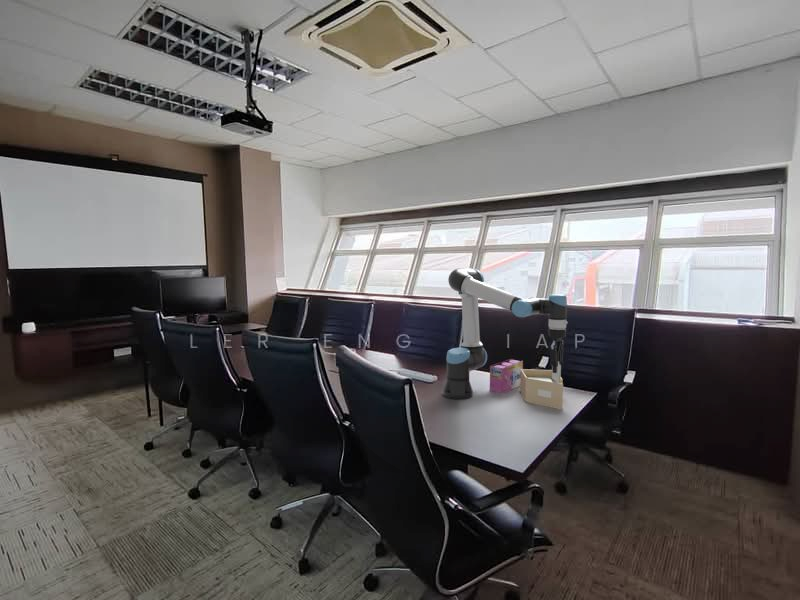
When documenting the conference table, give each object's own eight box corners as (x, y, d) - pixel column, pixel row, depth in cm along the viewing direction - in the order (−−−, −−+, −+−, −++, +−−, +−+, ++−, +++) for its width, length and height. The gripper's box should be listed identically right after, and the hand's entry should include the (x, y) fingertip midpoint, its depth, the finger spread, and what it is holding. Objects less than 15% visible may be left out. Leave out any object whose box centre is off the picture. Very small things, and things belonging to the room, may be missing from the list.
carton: (525, 401, 192) (525, 377, 191) (520, 391, 208) (520, 368, 208) (561, 403, 189) (562, 379, 188) (553, 392, 206) (554, 369, 205)
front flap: (525, 402, 190) (526, 357, 189) (526, 401, 192) (527, 357, 190) (561, 409, 181) (563, 362, 179) (562, 408, 182) (564, 361, 181)
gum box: (511, 381, 226) (512, 358, 225) (524, 384, 221) (525, 360, 220) (489, 390, 209) (489, 365, 208) (502, 394, 204) (503, 368, 203)
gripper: (560, 331, 172) (559, 384, 174) (571, 326, 183) (569, 376, 186) (543, 329, 176) (542, 381, 179) (554, 325, 188) (553, 373, 190)
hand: (556, 378), depth 182 cm, fingers open, 2 cm apart
